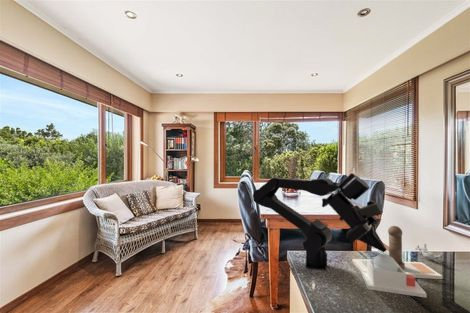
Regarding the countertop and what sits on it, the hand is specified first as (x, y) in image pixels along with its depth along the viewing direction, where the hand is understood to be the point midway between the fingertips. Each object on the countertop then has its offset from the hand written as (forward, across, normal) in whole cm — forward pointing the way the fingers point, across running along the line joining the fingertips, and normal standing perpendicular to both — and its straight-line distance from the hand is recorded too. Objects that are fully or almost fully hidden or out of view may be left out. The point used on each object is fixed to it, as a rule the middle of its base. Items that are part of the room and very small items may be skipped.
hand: (385, 251), depth 71 cm
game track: (+8, +13, +6) cm, 16 cm away
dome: (+5, 0, +5) cm, 7 cm away
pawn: (+7, +13, +5) cm, 16 cm away
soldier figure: (+14, +32, 0) cm, 35 cm away
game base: (+8, 0, +6) cm, 10 cm away
